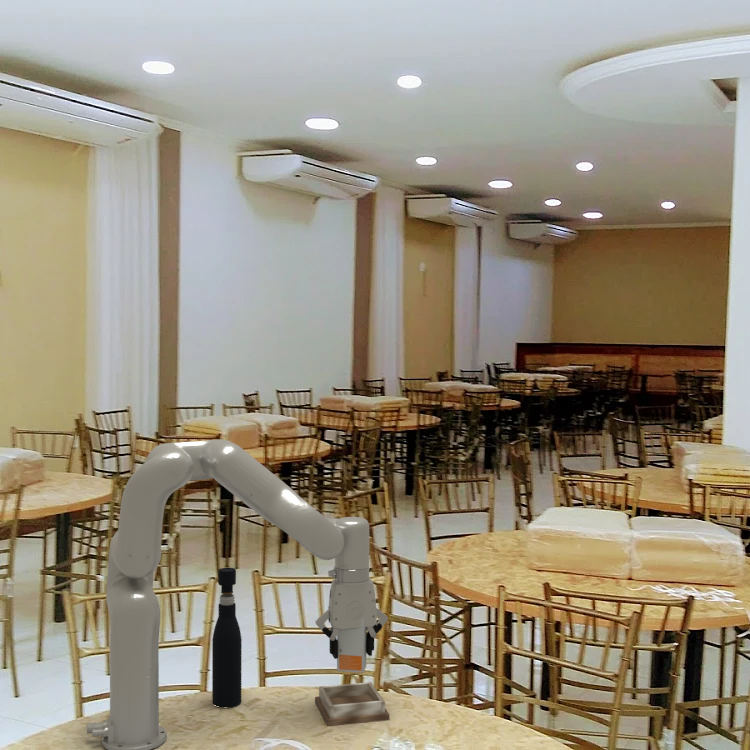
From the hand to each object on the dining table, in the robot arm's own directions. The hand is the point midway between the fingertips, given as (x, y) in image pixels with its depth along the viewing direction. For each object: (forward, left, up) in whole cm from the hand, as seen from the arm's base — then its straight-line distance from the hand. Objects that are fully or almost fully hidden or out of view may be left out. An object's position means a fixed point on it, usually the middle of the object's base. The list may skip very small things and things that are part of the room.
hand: (351, 654), depth 204 cm
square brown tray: (0, 0, -12) cm, 12 cm away
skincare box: (0, 0, -3) cm, 3 cm away
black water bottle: (-26, +11, -13) cm, 31 cm away
